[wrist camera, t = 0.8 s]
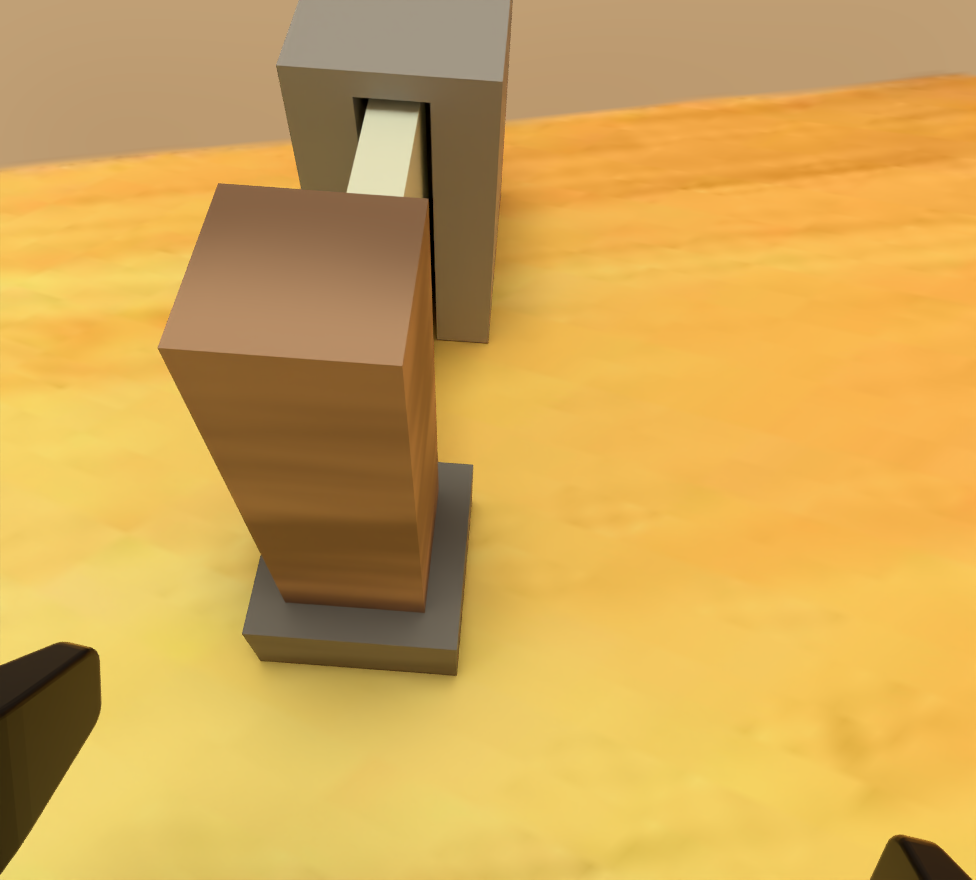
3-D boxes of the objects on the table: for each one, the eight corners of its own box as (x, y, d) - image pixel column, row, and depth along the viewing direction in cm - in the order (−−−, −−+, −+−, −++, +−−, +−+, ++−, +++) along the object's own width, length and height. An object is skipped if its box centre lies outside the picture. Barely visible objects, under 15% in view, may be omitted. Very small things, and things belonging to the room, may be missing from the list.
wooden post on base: (456, 675, 24) (458, 422, 12) (260, 660, 24) (75, 392, 12) (471, 501, 27) (484, 167, 16) (298, 488, 27) (180, 146, 16)
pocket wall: (488, 343, 31) (502, 81, 22) (330, 331, 31) (276, 65, 22) (500, 191, 36) (517, -79, 26) (363, 181, 36) (331, -92, 26)
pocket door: (407, 469, 27) (388, 278, 19) (363, 466, 27) (327, 274, 19) (432, 294, 31) (424, 80, 24) (393, 291, 31) (373, 76, 24)
